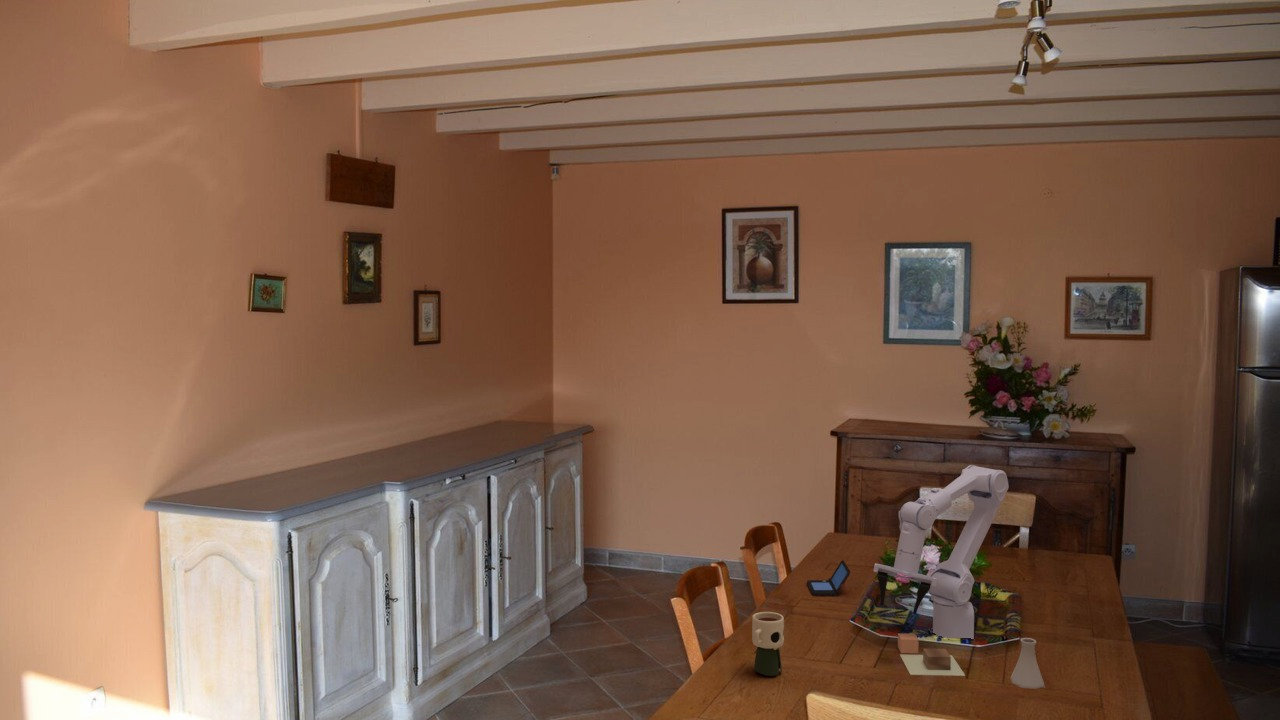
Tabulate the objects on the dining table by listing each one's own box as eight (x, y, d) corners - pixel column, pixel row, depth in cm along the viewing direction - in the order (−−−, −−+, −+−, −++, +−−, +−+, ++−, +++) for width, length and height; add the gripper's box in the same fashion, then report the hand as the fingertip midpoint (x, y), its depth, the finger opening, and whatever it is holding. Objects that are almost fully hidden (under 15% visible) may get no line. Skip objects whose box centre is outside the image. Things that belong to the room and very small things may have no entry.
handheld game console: (806, 583, 288) (806, 559, 288) (843, 584, 288) (843, 559, 288) (812, 597, 276) (812, 571, 275) (850, 597, 276) (850, 571, 275)
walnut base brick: (945, 661, 226) (945, 648, 226) (950, 670, 221) (950, 657, 221) (923, 661, 226) (923, 648, 226) (927, 669, 221) (928, 656, 221)
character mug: (769, 684, 215) (769, 626, 214) (741, 676, 219) (741, 620, 219) (793, 668, 224) (793, 613, 223) (766, 661, 228) (766, 607, 227)
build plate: (951, 657, 230) (951, 655, 230) (965, 678, 218) (965, 675, 218) (899, 656, 231) (899, 654, 231) (910, 677, 219) (910, 674, 219)
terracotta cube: (914, 649, 235) (914, 633, 235) (918, 656, 231) (918, 639, 231) (897, 649, 236) (897, 633, 235) (901, 655, 232) (901, 639, 231)
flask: (1003, 679, 217) (1004, 635, 217) (1035, 677, 218) (1036, 633, 217) (1019, 692, 210) (1020, 646, 209) (1051, 691, 211) (1052, 645, 210)
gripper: (877, 546, 233) (866, 603, 232) (940, 561, 228) (929, 619, 228) (879, 544, 239) (868, 599, 239) (940, 559, 235) (929, 615, 234)
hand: (898, 609), depth 234 cm, fingers open, 7 cm apart
